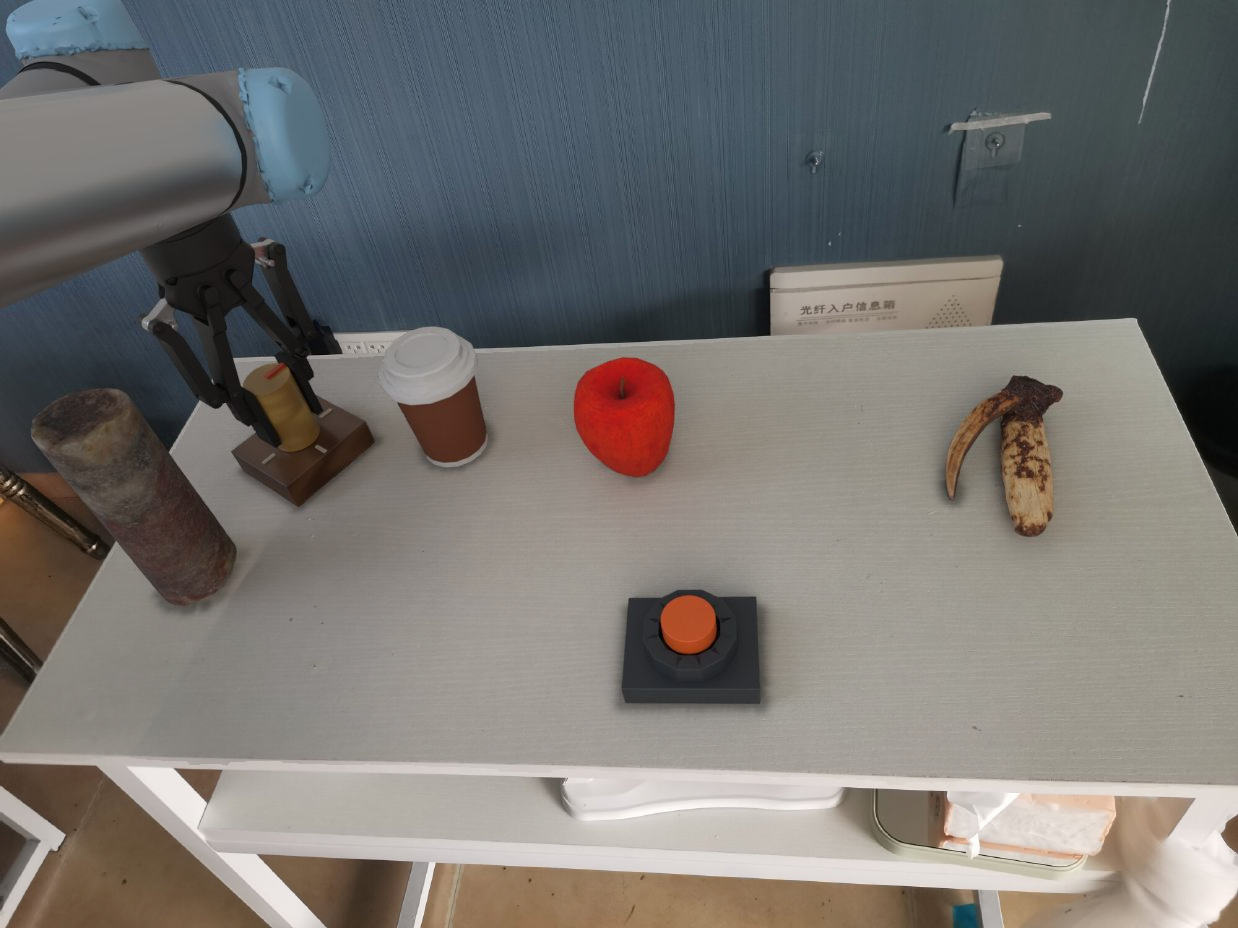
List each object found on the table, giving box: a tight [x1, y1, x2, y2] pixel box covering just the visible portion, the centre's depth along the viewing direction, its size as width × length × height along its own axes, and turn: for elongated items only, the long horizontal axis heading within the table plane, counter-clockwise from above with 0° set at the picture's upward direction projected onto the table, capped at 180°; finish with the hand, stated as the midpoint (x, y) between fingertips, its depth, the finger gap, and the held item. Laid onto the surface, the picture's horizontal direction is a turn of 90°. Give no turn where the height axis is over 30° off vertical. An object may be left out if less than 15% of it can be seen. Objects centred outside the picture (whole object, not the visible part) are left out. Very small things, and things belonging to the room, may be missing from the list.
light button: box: [661, 595, 717, 654], centre depth 65 cm, size 4×4×2 cm
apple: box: [573, 356, 676, 478], centre depth 79 cm, size 9×9×11 cm
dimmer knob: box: [242, 362, 320, 452], centre depth 84 cm, size 4×4×8 cm
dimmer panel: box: [230, 393, 376, 508], centre depth 88 cm, size 10×9×3 cm
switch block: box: [621, 588, 761, 705], centre depth 67 cm, size 10×8×4 cm
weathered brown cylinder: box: [30, 387, 238, 607], centre depth 73 cm, size 8×7×20 cm
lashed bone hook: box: [944, 374, 1064, 538], centre depth 75 cm, size 9×5×18 cm
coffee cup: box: [377, 325, 489, 468], centre depth 83 cm, size 9×9×12 cm
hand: (291, 423), depth 86 cm, fingers closed on dimmer knob, 4 cm apart
